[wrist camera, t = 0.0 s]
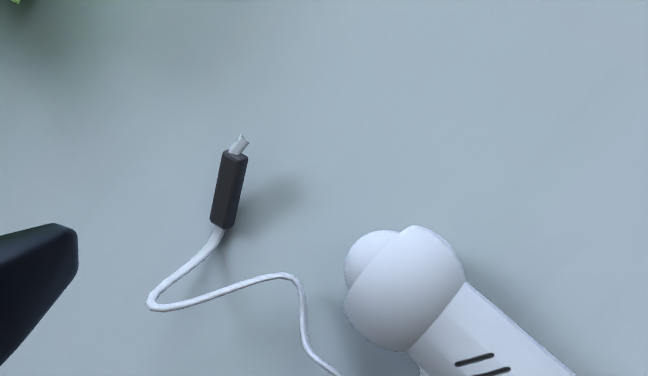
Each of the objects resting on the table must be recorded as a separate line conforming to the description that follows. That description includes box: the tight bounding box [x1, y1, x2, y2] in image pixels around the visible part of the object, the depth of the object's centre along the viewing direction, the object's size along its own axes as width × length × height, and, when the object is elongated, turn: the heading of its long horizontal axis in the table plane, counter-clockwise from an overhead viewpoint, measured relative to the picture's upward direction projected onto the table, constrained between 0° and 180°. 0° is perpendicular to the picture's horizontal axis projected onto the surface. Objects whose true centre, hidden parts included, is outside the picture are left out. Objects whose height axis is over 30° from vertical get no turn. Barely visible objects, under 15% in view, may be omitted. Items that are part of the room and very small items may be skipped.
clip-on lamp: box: [145, 135, 576, 376], centre depth 20 cm, size 12×6×18 cm
